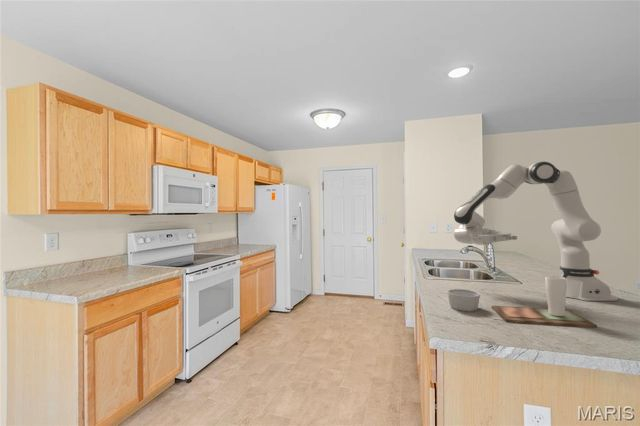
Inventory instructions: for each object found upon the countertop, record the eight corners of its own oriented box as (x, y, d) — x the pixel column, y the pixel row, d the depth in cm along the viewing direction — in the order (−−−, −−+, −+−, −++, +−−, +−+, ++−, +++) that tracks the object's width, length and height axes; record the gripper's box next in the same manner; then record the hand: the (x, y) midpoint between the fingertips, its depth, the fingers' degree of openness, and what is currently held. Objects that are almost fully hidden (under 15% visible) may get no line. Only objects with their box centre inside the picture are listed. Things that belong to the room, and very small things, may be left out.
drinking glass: (571, 318, 116) (570, 279, 116) (551, 317, 117) (550, 279, 118) (561, 312, 123) (560, 275, 123) (542, 311, 124) (541, 275, 124)
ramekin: (483, 307, 136) (483, 291, 136) (475, 314, 126) (474, 298, 126) (453, 301, 145) (453, 287, 145) (443, 308, 135) (443, 293, 135)
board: (569, 311, 127) (569, 308, 127) (597, 327, 110) (597, 324, 110) (491, 307, 135) (491, 304, 135) (505, 322, 117) (505, 318, 117)
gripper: (471, 231, 153) (499, 233, 141) (494, 229, 163) (521, 231, 151) (472, 244, 153) (499, 246, 141) (494, 241, 163) (522, 243, 151)
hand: (511, 238), depth 146 cm, fingers open, 8 cm apart
